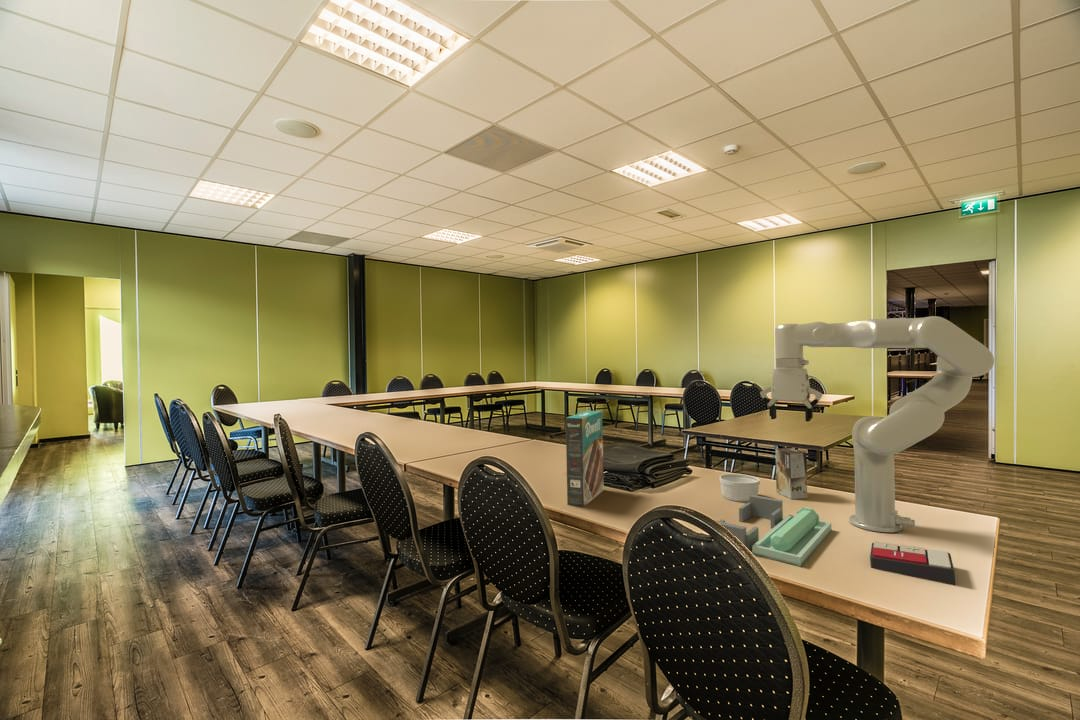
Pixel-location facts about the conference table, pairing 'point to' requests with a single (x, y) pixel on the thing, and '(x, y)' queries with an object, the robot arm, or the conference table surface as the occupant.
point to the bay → (757, 508)
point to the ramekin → (739, 486)
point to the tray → (799, 550)
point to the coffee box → (791, 473)
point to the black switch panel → (913, 561)
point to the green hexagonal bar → (794, 529)
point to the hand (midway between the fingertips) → (790, 419)
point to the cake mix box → (584, 457)
